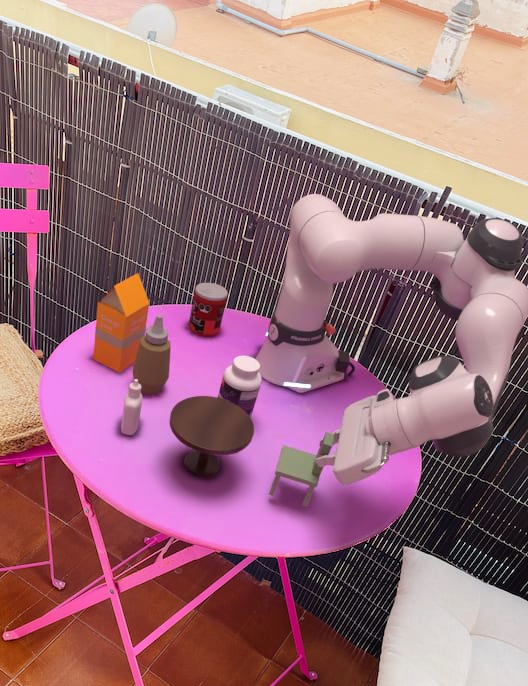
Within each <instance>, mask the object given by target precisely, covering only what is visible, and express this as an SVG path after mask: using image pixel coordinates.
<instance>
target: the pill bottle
mask: <svg viewBox="0 0 528 686" xmlns="http://www.w3.org/2000/svg"><path fill="white" fill-rule="evenodd" d="M259 368H260V364H259V362H258V361H257V360H256V359H255V358H254V357H252V356H248V355H238V356H236V357H234V358H233V360H232V364H231V365H228V366H227V367H226V368H225V370H224V372H223V374H222V378H221V383H220V387H219V390H218V394H217V398H221V399H224V400H227V401H229V402H232V403H234V404H235V405H237V406H239V407H240V408H241V409H243V410H244V411H245V412H246V413H247V414H248V415H249V417H250V418H251V419H252V415H253V412H254V409H255V405H256V403H257V399H258V394H259V393H260V390H261V386H262V381H263V377H261V375H260V373H259Z"/></svg>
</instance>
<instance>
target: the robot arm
mask: <svg viewBox="0 0 528 686" xmlns="http://www.w3.org/2000/svg"><path fill="white" fill-rule="evenodd" d="M288 236H289V238H288V245H287V252H286V261H285V269H284V277H283V283H282V286H281V291H280V293H279V296H278V301H277V305H276V308H275V309H274V310H273V312H272V315H271V318H270V322H269V324H268V331H267V332H266V333H265V336H266V337H265V339H264V342H263V344H262V346H261V348H260V350H259V352H258V354H257V355H256V356H255V358H254V359H256V360H257V361H258V362H259V364H260V368H259V373H260V375H261V378H262V379H263V380H264V379H265V381H268V382H269V383H271V384H274V385H277V386H280V387H285V388H287V389H289V390H292V391H294V392H296V393H300V394H303V393H306V392H310V391H312V390H316V389H319V388H321V387H325V386H329V385H331V384H334V383H338V382H340V381H343V380H344V379H345V374H347V376H349V377H351V376H352V375H353V374H354V372H355V371H356V366H355V365H354V364H353V363H352V362H351V359H350V358H351V357H350V352H349V351H345V350H341V349H338V348H337V346H336V345H335V343H333V341H332V340H331V339H330V338H329V337H328V336H334V334H335V333H336V327H334V326H333V325H332V323H327V320H326V316H327V312H328V310H329V306H330V304H331V301H332V298H333V294H334V284H340V283H344V282H346V281H348V280H350V279H352V278H353V277H354V276H355V275H356V274H357V273H358V272H363V271H368V270H393V271H407V272H408V271H410V272H412V271H414V272H427V273H430V274H432V275H433V276H435V277H434V278H433V279H432V280H431V282H430V289H431V291H432V292H433V299H434V301H435V304H436V306H437V308H438V310H439V311H440V313H441V314H442V315H444V316H445V317H446V318H448V319H450V320H453V321H457V322H456V325H455V333H454V335H455V341H456V345H457V347H458V350H459V353H460V356H461V358H462V362H463V364H464V365H463V364H462V362H461V361H460V360H459V359H458V358H455V357H453V356H449V355H442V354H441V355H437V356H434V357H431V358H428V359H427V360H424V361H422V362H420V363H418V364H416V365H415V366H414V368H413V369H412V371H411V373H410V376H409V378H408V387H409V392H410V394H409V396H405V397H398V398H396V399H395V397H394V396H393V394H392V392H391V391H390V389H388V388H385V389H382V390H379V391H378V392H377V394H376V395H374V394H373V395H369V396H367V397H364V398H362V399H360V400H357V401H355V402H353V403H351V404H349V405H348V406H347V407H346V408H345V409H344V411H343V415H342V421H341V426H340V428H337V429H336V430H334V431H333V432H331V434H334V439H333V444H332V447H333V446H334V445H336V444H337V446H336V451H334V452H332V453H331V454H329V455H326V454H325V453H323V454H320V455H317V454H316V455H317V458H316V463H317V465H318V466H319V467H323V466H324V467H326V466H332V472H333V474H334V476H335V478H336V479H337V481H338V483H340V484H341V485H343V486H349V485H353V484H354V483H357V482H361V481H363V480H365V479H368V478H369V477H371V476H373V475H375V474H377V473H378V472H379V471H381V469H382V468H383V467H384V465H385V464H386V463H388V462H389V460H390V456H393V455H396V454H399V453H404V452H405V451H409V450H412V449H415V448H419V447H421V446H422V445H424V444H425V443H428V442H429V441H432V443H433V446H434V448H435V451H437V452H439V453H441V454H444V455H446V456H450V457H453V458H466V457H470V456H473V455H475V454H477V453H478V452H479V451H481V450H482V449H483V448H484V447H485V446H486V445H487V443H489V440H490V438H491V437H492V435H493V432H494V424H493V419H494V416H495V414H496V411H497V408H498V406H499V403H500V402H501V401H500V400H501V398H502V395H503V393H504V390H505V388H506V385H507V384H508V383H507V382H508V380H509V374H510V369H511V361H512V356H513V351H514V346H515V344H516V340H517V337H518V335H519V333H520V331H521V330H522V328H523V327H524V325H525V322H526V320H527V319H528V287H527V285H525V284H524V283H523V282H522V281H521V280H518V279H517V278H516V276H515V271H516V270H517V268H520V267H521V266H523V263H524V260H523V256H522V252H523V247H524V240H523V236H522V233H521V230H520V229H519V228H518V227H517V226H516V225H515V224H514V223H512V222H510V221H508V220H506V219H503V218H497V217H489V218H484V219H481V220H479V222H477V223H476V225H474V226H473V227H472V229H471V230H470V231H469V232H468V234H467V236H466V239H465V238H464V235H463V232H462V229H461V228H460V227H459V226H458V225H457V224H455V223H453V222H450V221H446V220H443V219H439V218H435V217H430V216H421V215H412V214H411V215H410V214H398V213H387V212H382V213H379V214H377V215H375V216H374V217H373V218H371V219H367V220H360V221H359V220H352V219H349V218H348V217H346V216H345V214H344V213H343V211H342V210H341V208H340V207H339V206H338V204H337V203H336V202H335V201H334V200H331V199H330V198H329V197H326V196H324V195H322V194H320V193H311V194H306V195H305V196H303V197H301V198H300V199H299V200H298V201H296V202H295V203H294V205H293V206H292V209H291V211H290V214H289V235H288ZM464 239H465V240H464ZM325 332H326V333H327V335H328V336H327V335H326V334H325ZM349 367H351V370H350V371H349V372H348V373H347V371H348V369H349ZM322 440H323V438H321V439H320V440H319V444H318V445H319V447H320V445H321V443H322ZM324 467H323V468H324Z"/></svg>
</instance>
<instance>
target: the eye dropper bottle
mask: <svg viewBox="0 0 528 686" xmlns="http://www.w3.org/2000/svg"><path fill="white" fill-rule="evenodd" d="M123 401H124V402H123V409H122V417H121V424H120V430H121V431H120V432H121V433H122V434H123V435H127V436H133V435H134V434H135V433H136V432H137V431H138V428H139V423H140V418H141V411H142V404H143V393H141V385H140V384H139V383H138V380H137V379H135V380H134V379H133V381H132V382H131V383H129V385H128V391H127V392H126V395H125V397H124V400H123Z"/></svg>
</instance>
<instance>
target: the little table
mask: <svg viewBox="0 0 528 686" xmlns="http://www.w3.org/2000/svg"><path fill="white" fill-rule="evenodd" d="M169 427H170V430H171V432H172V434H173V435H174V437H175V438H176V439H177V440H178V441H179V442H180V443H182V444H183V445H185V446H186V447H188V448H189V449H191V450H194V451H191V452H189V453H188V454H186V456H185V458H184V467H185V469H186V470H187V471H188V472H189V473H190V474H191V475H193V476H195V477H199V478H211V477H214V476H215V475H217V474H218V472H219V470H220V468H221V466H220V461H219V459H218V458H217V457H216V456H228V455H234V454H237V453H240V452H242V451H243V450H244V449H246V448H247V447H248V446H249V445H250V444H251V442H252V440H253V437H254V433H255V426H254V422H253V420H252V417H251V418H250V417H249V415H248V414H247V413H246V412H245V411H244V410H243V409H241V408H240V407H239V406H237V405H235V404H234V403H232V402H229V401H227V400H224V399H221V398H218V396H217V397H216V396H212V395H211V396H210V395H195V396H190V397H187V398H184V399H182V400H179V402H177V403H176V404H175V405H174V406H173V408H172V409H171V411H170V416H169Z"/></svg>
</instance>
